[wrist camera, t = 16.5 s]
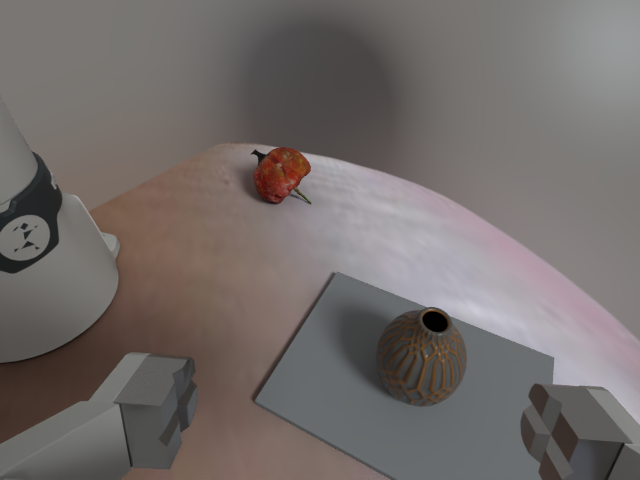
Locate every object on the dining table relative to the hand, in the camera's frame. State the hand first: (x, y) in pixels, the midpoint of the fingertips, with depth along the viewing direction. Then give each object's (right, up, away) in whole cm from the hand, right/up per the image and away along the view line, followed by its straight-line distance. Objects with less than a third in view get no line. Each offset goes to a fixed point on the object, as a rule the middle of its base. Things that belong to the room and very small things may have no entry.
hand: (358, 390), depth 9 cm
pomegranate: (-6, +9, +43) cm, 45 cm away
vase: (+7, -9, +24) cm, 26 cm away
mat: (+7, -9, +24) cm, 27 cm away
